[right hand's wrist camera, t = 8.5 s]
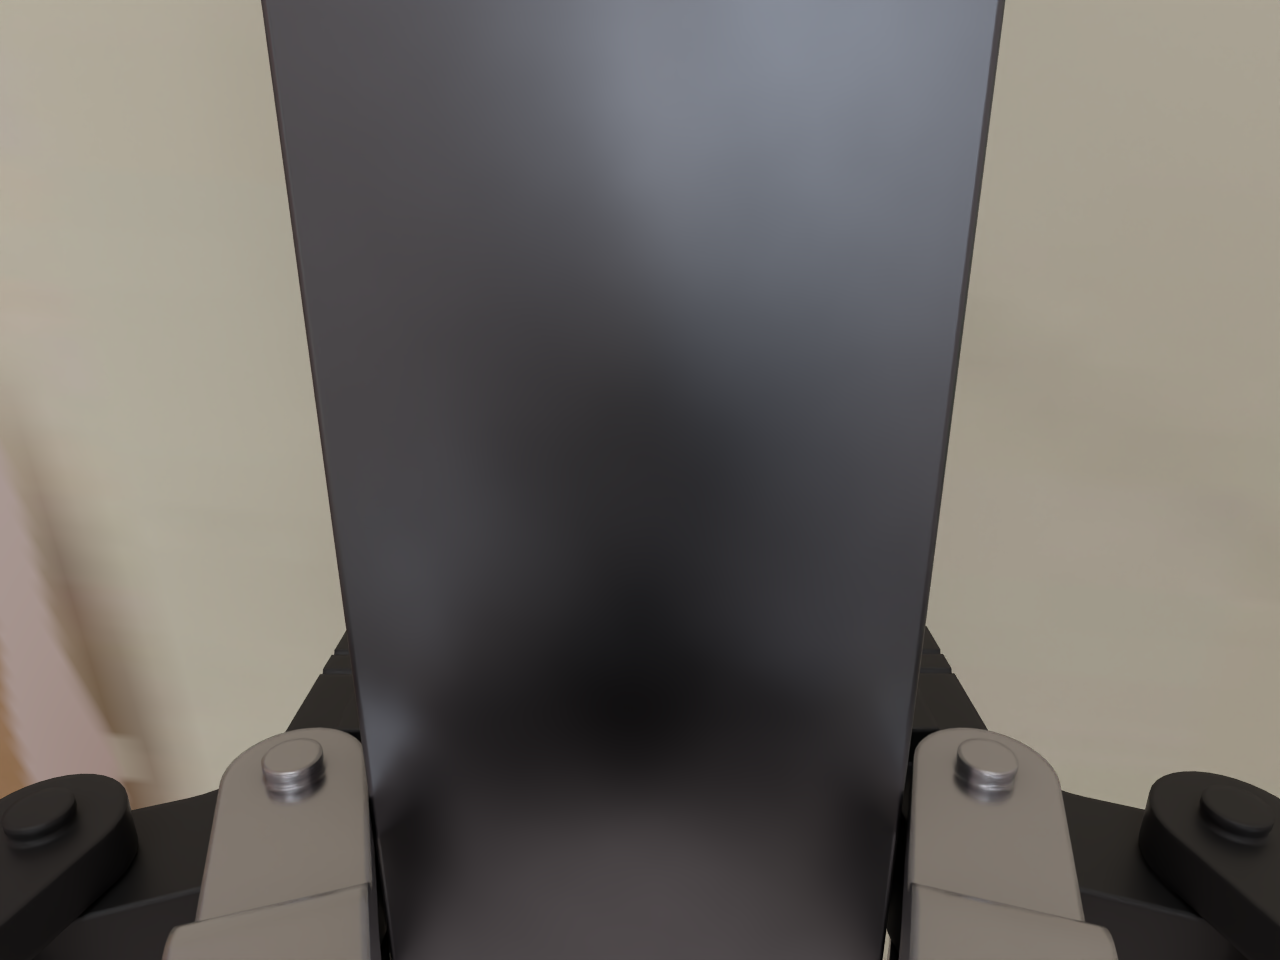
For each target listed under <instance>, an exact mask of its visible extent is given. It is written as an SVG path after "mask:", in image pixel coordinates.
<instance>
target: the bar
mask: <svg viewBox="0 0 1280 960" xmlns="http://www.w3.org/2000/svg"><path fill="white" fill-rule="evenodd" d="M261 3H262V11H263V18H264V25H265V33H266V40H267V48H268V55H269V62H270V70H271V77H272V84H273V92H274V99H275V107H276V114H277V121H278V129H279V136H280V144H281V151H282V158H283V166H284V173H285V180H286V188H287V195H288V203H289V210H290V217H291V225H292V232H293V239H294V247H295V254H296V262H297V269H298V276H299V284H300V291H301V299H302V306H303V313H304V321H305V328H306V335H307V343H308V350H309V358H310V365H311V372H312V380H313V387H314V394H315V402H316V409H317V417H318V424H319V431H320V439H321V446H322V454H323V461H324V468H325V476H326V483H327V490H328V498H329V505H330V513H331V520H332V527H333V535H334V542H335V549H336V557H337V564H338V572H339V579H340V586H341V594H342V601H343V609H344V616H345V623H346V631H347V638H348V645H349V653H350V660H351V668H352V675H353V682H354V690H355V697H356V704H357V712H358V719H359V727H360V734H361V741H362V749H363V756H364V764H365V771H366V778H367V786H368V793H369V800H370V808H371V815H372V823H373V830H374V837H375V845H376V852H377V859H378V867H379V874H380V882H381V889H382V896H383V904H384V911H385V919H386V926H387V933H388V941H389V948H390V955H391V960H883V952H884V944H885V936H886V928H887V921H888V913H889V905H890V897H891V889H892V882H893V874H894V866H895V858H896V850H897V843H898V835H899V827H900V819H901V811H902V803H903V796H904V788H905V780H906V772H907V764H908V757H909V749H910V741H911V733H912V725H913V718H914V710H915V702H916V694H917V686H918V679H919V671H920V663H921V655H922V647H923V639H924V632H925V624H926V616H927V608H928V600H929V593H930V585H931V577H932V569H933V561H934V554H935V546H936V538H937V530H938V522H939V515H940V507H941V499H942V491H943V483H944V475H945V468H946V460H947V452H948V444H949V436H950V429H951V421H952V413H953V405H954V397H955V390H956V382H957V374H958V366H959V358H960V351H961V343H962V335H963V327H964V319H965V311H966V304H967V296H968V288H969V280H970V272H971V265H972V257H973V249H974V241H975V233H976V226H977V218H978V210H979V202H980V194H981V187H982V179H983V171H984V163H985V155H986V147H987V140H988V132H989V124H990V116H991V108H992V101H993V93H994V85H995V77H996V69H997V62H998V54H999V46H1000V38H1001V30H1002V23H1003V15H1004V7H1005V0H261Z"/></svg>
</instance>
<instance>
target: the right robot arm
mask: <svg viewBox="0 0 1280 960" xmlns="http://www.w3.org/2000/svg"><path fill="white" fill-rule="evenodd" d="M334 651H335V653H334V655H331V657H330V659H329V660H328V662H327V664H326V665H325V667H324V669H323V674H320V675H319V677H318V679H317V680H316V682H315V684H314V685H313V687H312V689H311V690H310V692H309V694H308V695H307V697H306V699H305V700H304V702H303V704H302V705H301V707H300V709H299V710H298V712H297V714H296V715H295V717H294V719H293V720H292V722H291V724H290V725H289V727H288V729H287V730H286V732H284V733H281V734H278V735H275V736H272V737H270V738H268V739H265V740H263V741H261V742H259V743H257V744H255V745H253V746H252V747H250V748H249V749H247V750H246V751H244V752H243V753H241V754H240V755H239V756H238V757H237V758H236V759H235V760H234V761H233V762H232V763H231V764H230V765H229V766H228V768H227V769H226V771H225V772H224V774H223V776H222V779H221V782H220V785H219V789H217V790H215V791H212V792H209V793H206V794H203V795H199V796H195V797H191V798H187V799H183V800H178V801H173V802H169V803H164V804H159V805H155V806H150V807H145V808H141V809H136V810H131V807H130V804H129V800H128V796H127V793H126V790H125V788H124V787H123V786H122V785H121V783H120V782H118V781H116V780H115V779H113V778H110V777H107V776H103V775H97V774H75V775H66V776H61V777H56V778H52V779H48V780H45V781H41V782H38V783H35V784H32V785H30V786H27V787H24V788H22V789H20V790H18V791H15V792H13V793H11V794H9V795H7V796H6V797H4V798H2V799H0V960H391V955H390V948H389V941H388V933H387V926H386V919H385V911H384V904H383V896H382V889H381V882H380V874H379V867H378V859H377V852H376V845H375V837H374V830H373V823H372V815H371V808H370V800H369V793H368V786H367V778H366V771H365V764H364V756H363V749H362V741H361V734H360V727H359V719H358V712H357V704H356V697H355V690H354V682H353V675H352V668H351V660H350V653H349V645H348V638H347V631H346V632H345V634H344V635H343V637H342V639H341V640H340V642H339V644H338V645H337V647H336V649H335V650H334ZM887 931H888V934H889V936H890V941H889V948H888V956H887V960H1280V799H1279V798H1277V797H1276V796H1274V795H1272V794H1270V793H1268V792H1266V791H1264V790H1262V789H1260V788H1258V787H1256V786H1253V785H1251V784H1248V783H1246V782H1243V781H1240V780H1237V779H1234V778H1230V777H1226V776H1223V775H1218V774H1213V773H1206V772H1196V771H1191V772H1177V773H1172V774H1169V775H1166V776H1163V777H1162V778H1160V779H1158V780H1157V781H1156V782H1155V783H1154V784H1153V785H1152V787H1151V790H1150V792H1149V796H1148V800H1147V804H1146V808H1145V810H1143V809H1138V808H1134V807H1129V806H1124V805H1120V804H1115V803H1111V802H1106V801H1101V800H1097V799H1092V798H1087V797H1083V796H1079V795H1075V794H1071V793H1068V792H1065V791H1062V790H1061V785H1060V782H1059V779H1058V776H1057V774H1056V772H1055V771H1054V769H1053V768H1052V766H1051V765H1050V764H1049V763H1048V762H1047V761H1046V760H1045V759H1044V758H1043V757H1042V756H1041V755H1040V754H1039V753H1037V752H1036V751H1034V750H1033V749H1031V748H1030V747H1028V746H1027V745H1025V744H1023V743H1021V742H1019V741H1017V740H1015V739H1012V738H1010V737H1008V736H1005V735H1002V734H999V733H996V732H992V731H988V729H987V728H986V726H985V724H984V723H983V721H982V719H981V718H980V716H979V714H978V713H977V711H976V709H975V707H974V706H973V704H972V702H971V701H970V699H969V697H968V696H967V694H966V692H965V691H964V689H963V687H962V686H961V684H960V682H959V680H958V679H957V677H956V675H955V674H954V673H952V672H951V667H950V665H949V664H948V662H947V660H946V658H945V657H944V655H943V654H940V648H939V647H938V645H937V643H936V642H935V640H934V638H933V636H932V635H931V633H930V631H929V630H928V628H927V627H926V626H925V632H924V639H923V647H922V655H921V663H920V671H919V679H918V686H917V694H916V702H915V710H914V718H913V725H912V733H911V741H910V749H909V757H908V764H907V772H906V780H905V788H904V796H903V803H902V811H901V819H900V827H899V835H898V843H897V850H896V858H895V866H894V874H893V882H892V889H891V897H890V905H889V913H888V921H887Z"/></svg>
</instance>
